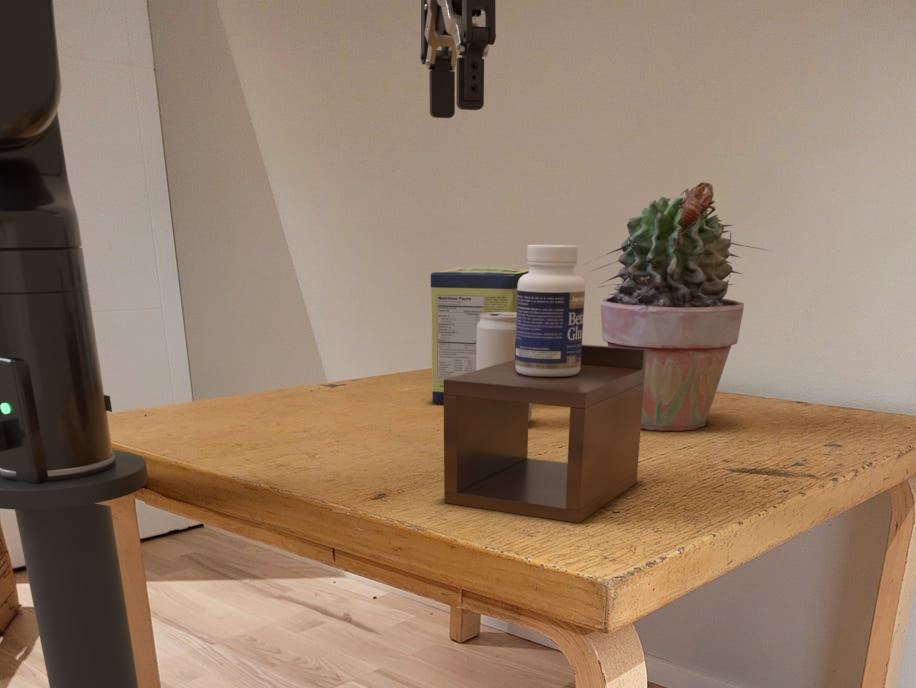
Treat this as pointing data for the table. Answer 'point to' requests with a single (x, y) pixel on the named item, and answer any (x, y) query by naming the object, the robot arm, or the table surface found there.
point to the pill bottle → (550, 313)
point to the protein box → (465, 316)
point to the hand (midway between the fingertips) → (455, 113)
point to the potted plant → (675, 307)
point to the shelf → (506, 436)
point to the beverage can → (496, 340)
